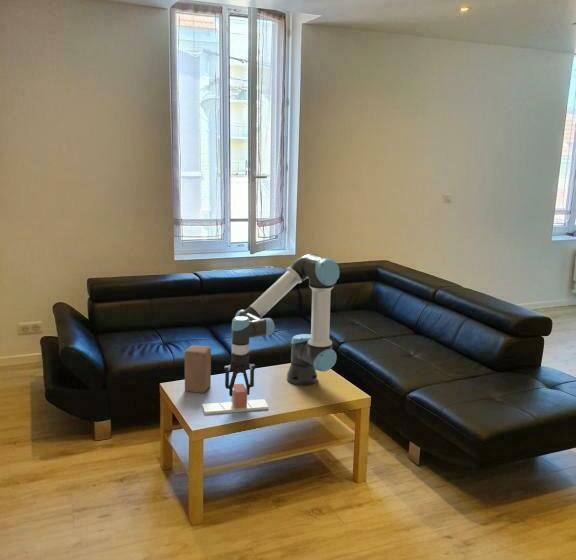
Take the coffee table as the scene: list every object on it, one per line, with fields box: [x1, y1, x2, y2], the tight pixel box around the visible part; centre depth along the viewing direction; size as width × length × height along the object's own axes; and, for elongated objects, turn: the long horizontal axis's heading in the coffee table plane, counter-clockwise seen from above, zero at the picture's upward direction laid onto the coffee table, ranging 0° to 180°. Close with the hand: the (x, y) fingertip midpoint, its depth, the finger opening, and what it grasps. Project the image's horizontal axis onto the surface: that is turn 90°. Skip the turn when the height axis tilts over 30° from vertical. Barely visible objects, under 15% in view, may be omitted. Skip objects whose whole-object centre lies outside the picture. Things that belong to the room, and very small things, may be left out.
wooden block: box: [184, 344, 212, 394], centre depth 272 cm, size 10×10×20 cm
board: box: [202, 398, 269, 415], centre depth 255 cm, size 28×8×1 cm, turn 105°
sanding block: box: [233, 383, 248, 410], centre depth 255 cm, size 5×9×8 cm, turn 15°
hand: (239, 402), depth 255 cm, fingers closed on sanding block, 5 cm apart
